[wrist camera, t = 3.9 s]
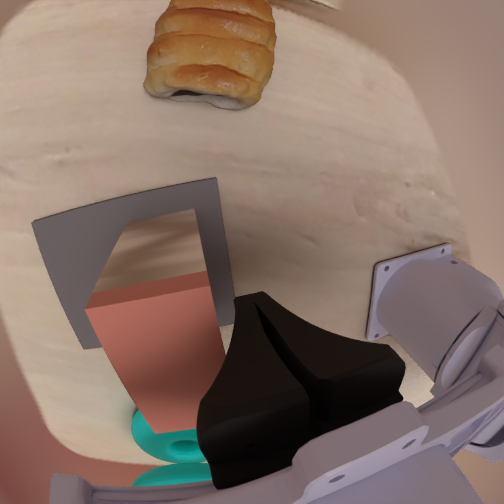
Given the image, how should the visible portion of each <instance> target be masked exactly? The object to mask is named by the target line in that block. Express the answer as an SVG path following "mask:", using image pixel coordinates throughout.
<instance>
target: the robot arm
mask: <svg viewBox="0 0 504 504" xmlns="http://www.w3.org/2000/svg"><path fill="white" fill-rule="evenodd" d="M451 251H452V245H451V244H449V243H446V244H443V245H440V246H436V247H433V248H430V249H426V250H423V251H419V252H416V253H412V254H409V255H405V256H402V257H398V258H395V259H391V260H387V261H384V262H380V263H378V264H377V265H376V267H375V271H374V281H373V290H372V299H371V307H370V314H369V321H368V328H367V334H366V339H367V340H368V341H373V340H376V339H378V338H381V337H383V336H386V335H388V334H390V335H391V336H392V337H393V338H394V339H395V340H396V341H397V342H398V344H399V345H400V346H401V347H402V348H403V349H404V350H405V351H406V352H407V353H408V354H409V355H410V357H411V358H412V359H413V360H414V361H415V362H416V363H417V364H418V365H419V366H420V367H421V369H422V370H423V371H424V372H425V373H426V374H427V375H428V376H429V377H430V379H431V380H432V381H433V382H434V383H435V384H434V385H433V387H432V388H431V390H430V392H431V393H432V394H433V396H434V398H433V399H431V400H429V401H428V402H426V403H424V404H423V405H421V406H419V407H418V408H415V407H414V405H413V404H412V403H410V402H407V401H403V396H402V395H401V394H400V392H399V388H400V385H401V383H402V380H403V377H404V374H405V369H406V366H405V362H404V361H403V360H402V359H401V358H400V356H399V355H398V354H397V353H396V352H395V351H394V350H393V349H392V348H391V347H390V346H389V345H387V344H379V343H371V342H364V341H360V340H355V339H351V338H347V337H344V336H340V335H337V334H334V333H331V332H329V331H326V330H324V329H321V328H319V327H317V326H315V325H312V324H310V323H308V322H307V321H305V320H303V319H301V318H300V317H298V316H296V315H295V314H293V313H292V312H290V311H289V310H287V309H286V308H284V307H283V306H281V305H280V304H279V303H277V302H276V301H275V300H274V299H272V298H271V297H270V296H269V295H267V294H266V293H265V292H263V291H262V292H257V293H253V294H248V295H244V296H239V297H235V299H234V300H233V301H234V307H235V320H234V328H233V333H232V338H231V342H230V345H229V349H228V352H227V355H226V357H225V360H224V362H223V365H222V367H221V369H220V371H219V373H218V375H217V376H216V378H215V380H214V382H213V384H212V385H211V387H210V388H209V390H208V391H207V392H206V394H205V395H204V397H203V398H202V399H201V401H200V404H199V409H198V415H197V423H196V433H197V440H198V445H199V448H200V450H201V452H202V454H203V455H204V457H205V459H206V460H207V462H208V463H209V466H210V471H211V476H212V480H208V481H201V482H193V483H184V484H173V485H159V486H130V487H129V486H128V487H127V486H121V487H120V486H97V485H91V484H90V483H89V482H88V481H87V480H86V479H84V478H82V477H79V476H75V475H66V474H56V473H53V474H52V479H51V487H50V497H49V504H485V503H484V502H483V501H482V499H481V498H480V496H479V495H478V494H477V492H476V491H475V489H474V488H473V486H472V485H471V484H470V482H469V481H468V480H467V478H466V477H465V475H464V474H463V473H462V471H461V470H460V468H459V467H458V466H457V464H456V463H455V462H454V460H453V459H452V457H453V456H455V455H456V454H457V453H458V452H459V451H460V450H467V451H470V452H473V453H476V454H478V455H480V456H482V457H483V458H485V459H487V460H488V461H489V462H491V463H496V462H500V461H503V460H504V298H503V295H502V293H501V290H500V289H499V287H498V286H497V284H496V283H495V282H494V281H493V280H492V279H491V278H489V277H487V276H486V275H484V274H483V273H481V272H480V271H478V270H476V269H475V268H473V267H472V266H470V265H468V264H467V263H465V262H463V261H462V260H460V259H458V258H457V257H455V256H453V255H452V254H451ZM385 267H386V268H385ZM401 401H402V402H401Z"/></svg>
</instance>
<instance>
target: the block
mask: <svg viewBox="0 0 504 504" xmlns="http://www.w3.org/2000/svg"><path fill="white" fill-rule="evenodd" d="M85 311H86V314H87V316H88V318H89V320H90V322H91V325H92V327H93V329H94V331H95V333H96V335H97V337H98V339H99V341H100V343H101V345H102V347H103V349H104V351H105V353H106V355H107V357H108V358H109V360H110V362H111V364H112V366H113V368H114V369H115V371H116V373H117V375H118V377H119V378H120V380H121V382H122V383H123V385H124V387H125V388H126V390H127V392H128V393H129V395H130V397H131V398H132V400H133V401H134V403H135V405H136V406H137V408H138V409H139V411H140V412H141V414H142V415H143V417H144V418H145V420H146V421H147V423H148V424H149V426H150V427H151V428H152V430H153V431H154V433H155V434H157V433H166V432H174V431H181V430H188V429H195V428H196V423H197V415H198V409H199V404H200V401H201V399H202V398H203V397H204V395H205V394H206V392H207V391H208V390H209V388H210V387H211V385H212V384H213V382H214V380H215V378H216V376H217V375H218V373H219V371H220V369H221V367H222V365H223V362H224V360H225V357H226V355H225V350H224V346H223V342H222V338H221V333H220V329H219V325H218V320H217V316H216V311H215V307H214V302H213V297H212V293H211V288H210V283H209V279H208V274H207V269H206V264H205V260H204V255H203V250H202V245H201V240H200V235H199V230H198V224H197V219H196V214H195V208H194V209H189V210H184V211H179V212H174V213H169V214H164V215H159V216H155V217H150V218H145V219H141V220H136V221H132V222H128V223H127V225H126V226H125V228H124V230H123V232H122V234H121V236H120V237H119V239H118V241H117V243H116V245H115V247H114V249H113V251H112V253H111V255H110V257H109V258H108V260H107V262H106V264H105V266H104V268H103V271H102V273H101V275H100V277H99V279H98V281H97V283H96V285H95V287H94V290H93V292H92V294H91V296H90V298H89V301H88V303H87V305H86V307H85Z"/></svg>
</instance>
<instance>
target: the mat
mask: <svg viewBox="0 0 504 504" xmlns="http://www.w3.org/2000/svg"><path fill="white" fill-rule="evenodd" d="M194 208H195V214H196V219H197V224H198V230H199V235H200V240H201V245H202V250H203V255H204V260H205V264H206V269H207V274H208V279H209V283H210V288H211V293H212V297H213V302H214V307H215V311H216V316H217V320H218V325H219V327H221V326H225V325H230V324H234V320H235V307H234V301H233V300H234V299H235V293H234V287H233V281H232V275H231V269H230V263H229V257H228V251H227V244H226V238H225V232H224V225H223V218H222V212H221V205H220V198H219V192H218V185H217V178H216V177H215V178H209V179H203V180H198V181H192V182H187V183H182V184H177V185H171V186H167V187H162V188H157V189H152V190H148V191H143V192H139V193H134V194H130V195H126V196H122V197H117V198H113V199H109V200H105V201H101V202H98V203H94V204H90V205H86V206H83V207H79V208H75V209H72V210H68V211H65V212H61V213H58V214H55V215H51V216H48V217H45V218H42V219H38V220H35V221H33V222H32V223H31V224H32V227H33V230H34V234H35V237H36V240H37V243H38V246H39V249H40V252H41V255H42V258H43V260H44V263H45V266H46V268H47V271H48V274H49V276H50V279H51V281H52V284H53V286H54V289H55V291H56V293H57V296H58V298H59V300H60V302H61V305H62V307H63V309H64V311H65V313H66V316H67V318H68V320H69V322H70V324H71V326H72V328H73V330H74V332H75V334H76V336H77V338H78V340H79V342H80V343H81V345H82V347H83V349H92V348H100V347H102V345H101V343H100V341H99V339H98V337H97V335H96V333H95V331H94V329H93V327H92V325H91V322H90V320H89V318H88V316H87V314H86V311H85V307H86V305H87V303H88V301H89V298H90V296H91V294H92V292H93V290H94V287H95V285H96V283H97V281H98V279H99V277H100V275H101V273H102V271H103V268H104V266H105V264H106V262H107V260H108V258H109V257H110V255H111V253H112V251H113V249H114V247H115V245H116V243H117V241H118V239H119V237H120V236H121V234H122V232H123V230H124V228H125V226H126V225H127V223H128V222H132V221H136V220H141V219H145V218H150V217H155V216H159V215H164V214H169V213H174V212H179V211H184V210H189V209H194Z"/></svg>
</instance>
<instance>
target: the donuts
mask: <svg viewBox="0 0 504 504" xmlns="http://www.w3.org/2000/svg"><path fill="white" fill-rule="evenodd" d="M131 431H132V435H133V438H134V440H135V441H136V443H137V444H138V445H139V446H140V448H141V449H142V450H144V451H145V452H146V453H148V454H149V455H151V456H153V457H155V458H157V459H160V460H163V461H167V462H172V463H178V464H170V465H165V466H161V467H157V468H154V469H151V470H149V471H147V472H145V473H143V474H142V475H140V476H139V477H138V478H137V479H136V480H135V481H134V483H133V485H132V486H159V485H173V484H184V483H193V482H201V481H208V480H212V476H211V471H210V466H209V463H200V462H205V461H207V460H206V459H205V457H204V455H203V454H202V452H201V450H200V448H199V445H198V440H197V433H196V428H195V429H188V430H181V431H174V432H166V433H157V434H155V433H154V431H153V430H152V428H151V427H150V426H149V424H148V423H147V421H146V420H145V418H144V417H143V415H142V414H141V412H140V411H139V410H138V411H137V412H136V414H135V415H134V417H133V420H132V423H131Z"/></svg>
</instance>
